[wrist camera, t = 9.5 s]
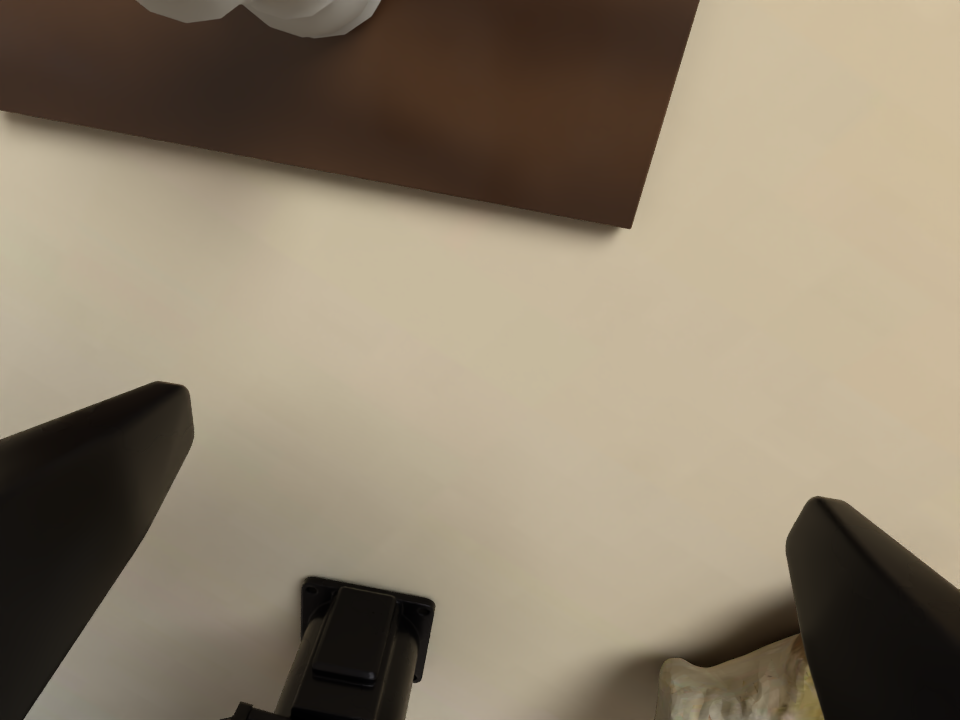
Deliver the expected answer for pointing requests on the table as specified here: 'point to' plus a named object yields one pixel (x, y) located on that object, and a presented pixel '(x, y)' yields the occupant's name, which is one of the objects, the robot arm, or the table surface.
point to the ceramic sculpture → (741, 687)
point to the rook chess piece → (276, 13)
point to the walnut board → (377, 91)
